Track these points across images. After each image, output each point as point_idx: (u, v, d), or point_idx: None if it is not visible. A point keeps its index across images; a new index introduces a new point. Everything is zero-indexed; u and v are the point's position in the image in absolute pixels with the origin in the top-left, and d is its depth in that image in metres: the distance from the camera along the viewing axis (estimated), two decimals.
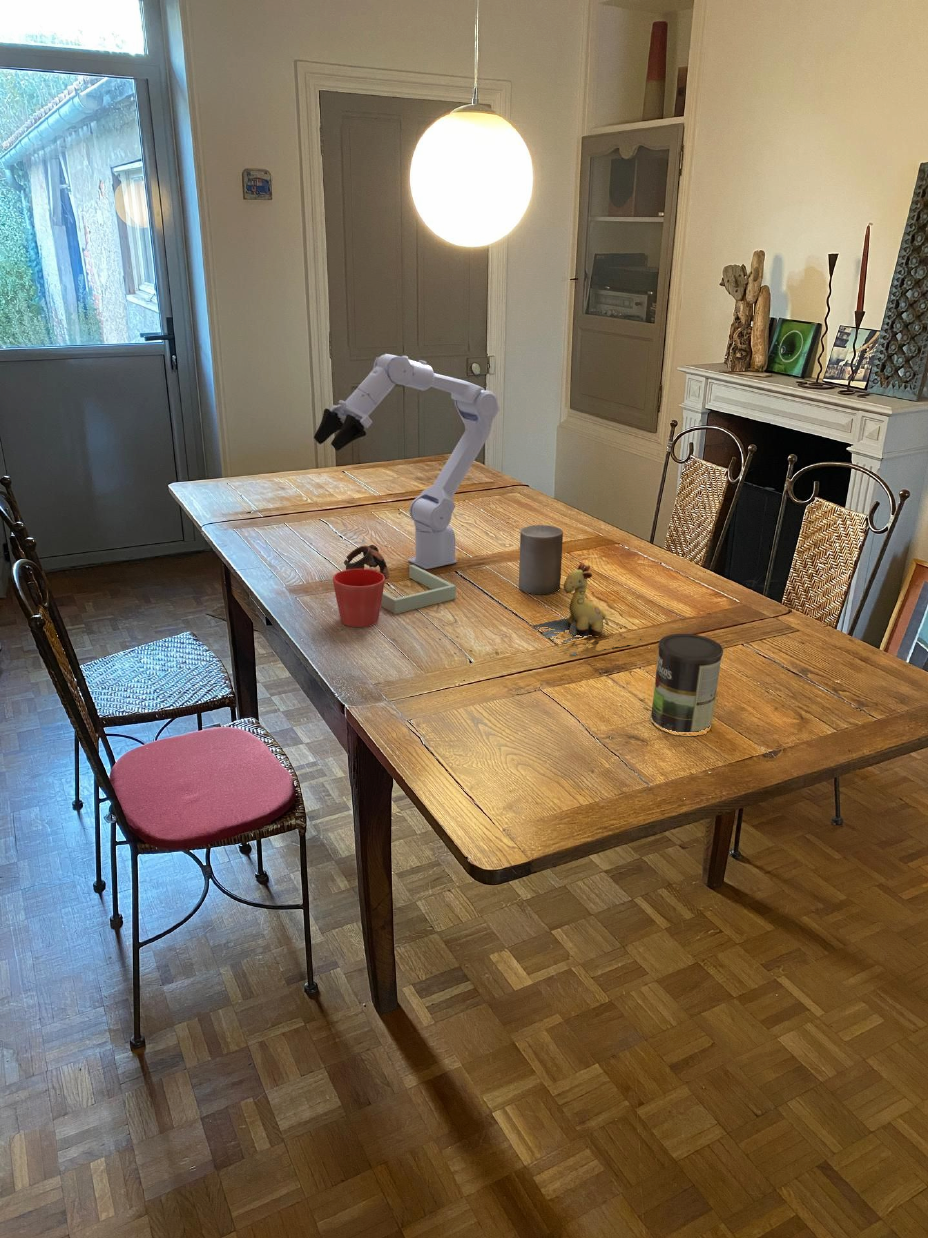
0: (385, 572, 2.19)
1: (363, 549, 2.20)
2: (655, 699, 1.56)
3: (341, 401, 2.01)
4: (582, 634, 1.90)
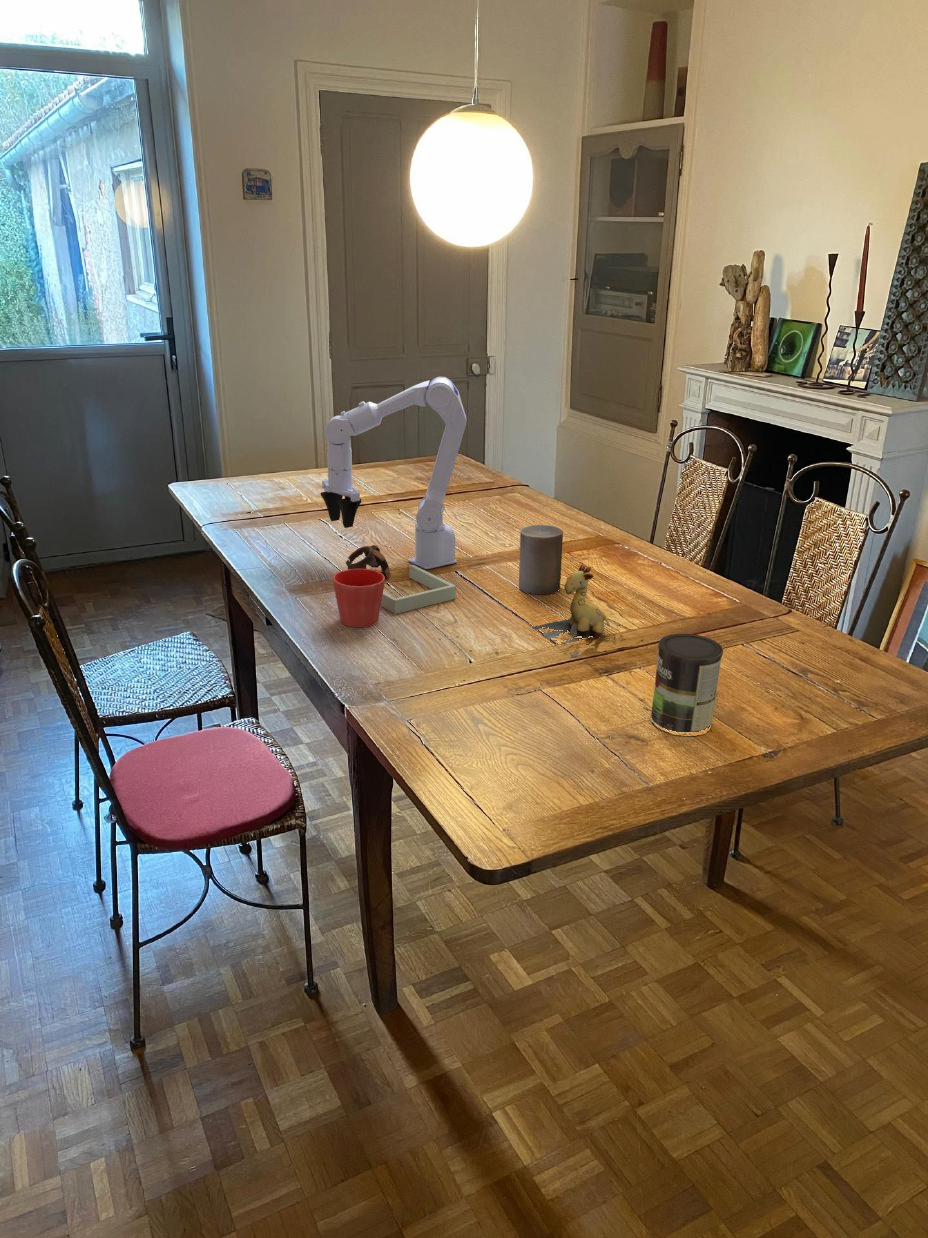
0: (387, 572, 2.19)
1: (365, 549, 2.20)
2: (655, 699, 1.56)
3: (326, 490, 2.21)
4: (583, 635, 1.90)
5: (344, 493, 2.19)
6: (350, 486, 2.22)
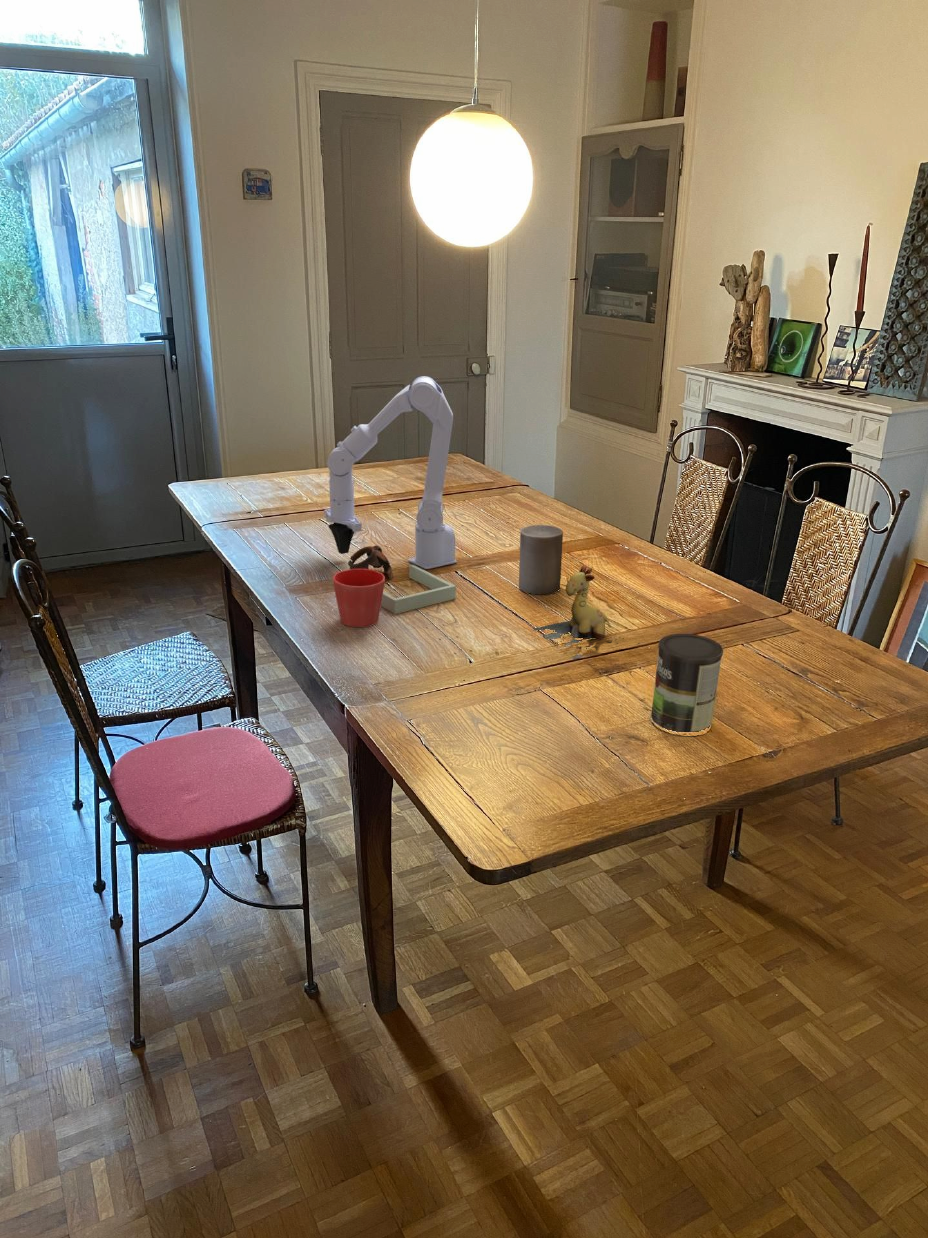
0: (389, 573, 2.18)
1: (367, 550, 2.20)
2: (655, 699, 1.56)
3: (328, 520, 2.24)
4: (584, 637, 1.89)
5: (346, 523, 2.22)
6: (352, 516, 2.25)
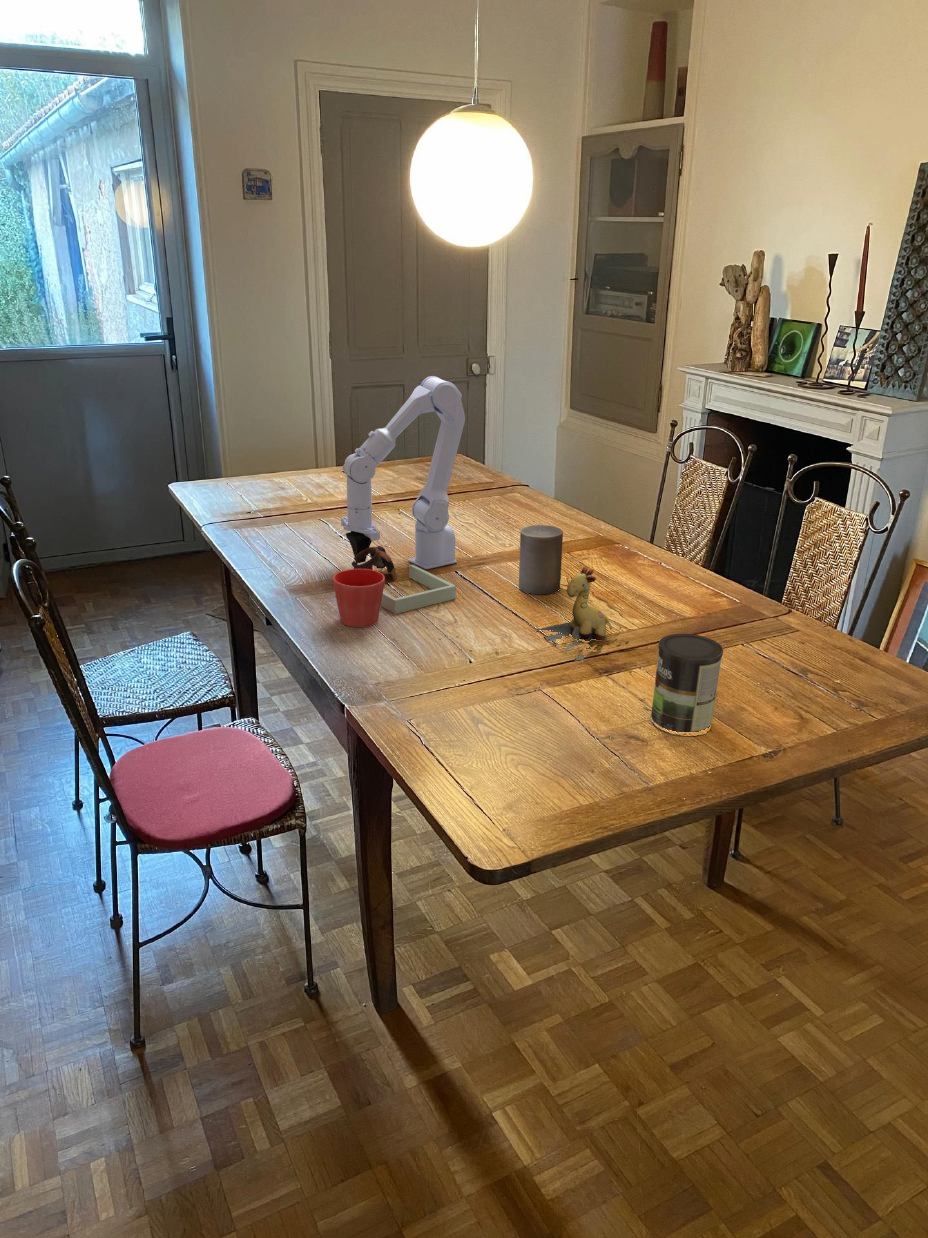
0: (393, 573, 2.18)
1: (371, 550, 2.19)
2: (655, 699, 1.56)
3: (345, 528, 2.18)
4: (585, 638, 1.88)
5: (364, 532, 2.16)
6: (370, 524, 2.19)
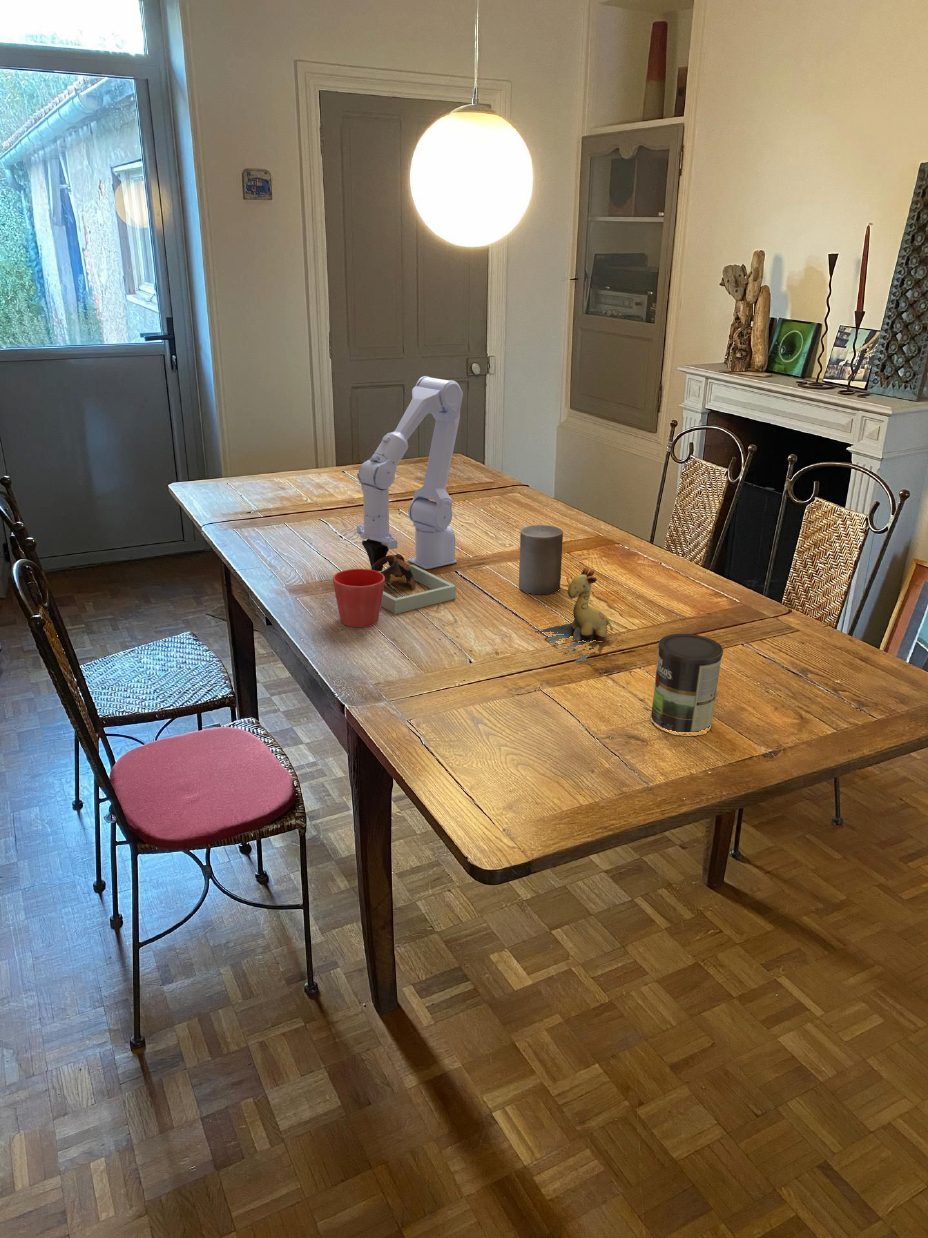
0: (411, 582, 2.12)
1: (389, 559, 2.14)
2: (655, 699, 1.56)
3: (362, 537, 2.12)
4: (586, 639, 1.88)
5: (381, 540, 2.10)
6: (387, 532, 2.13)
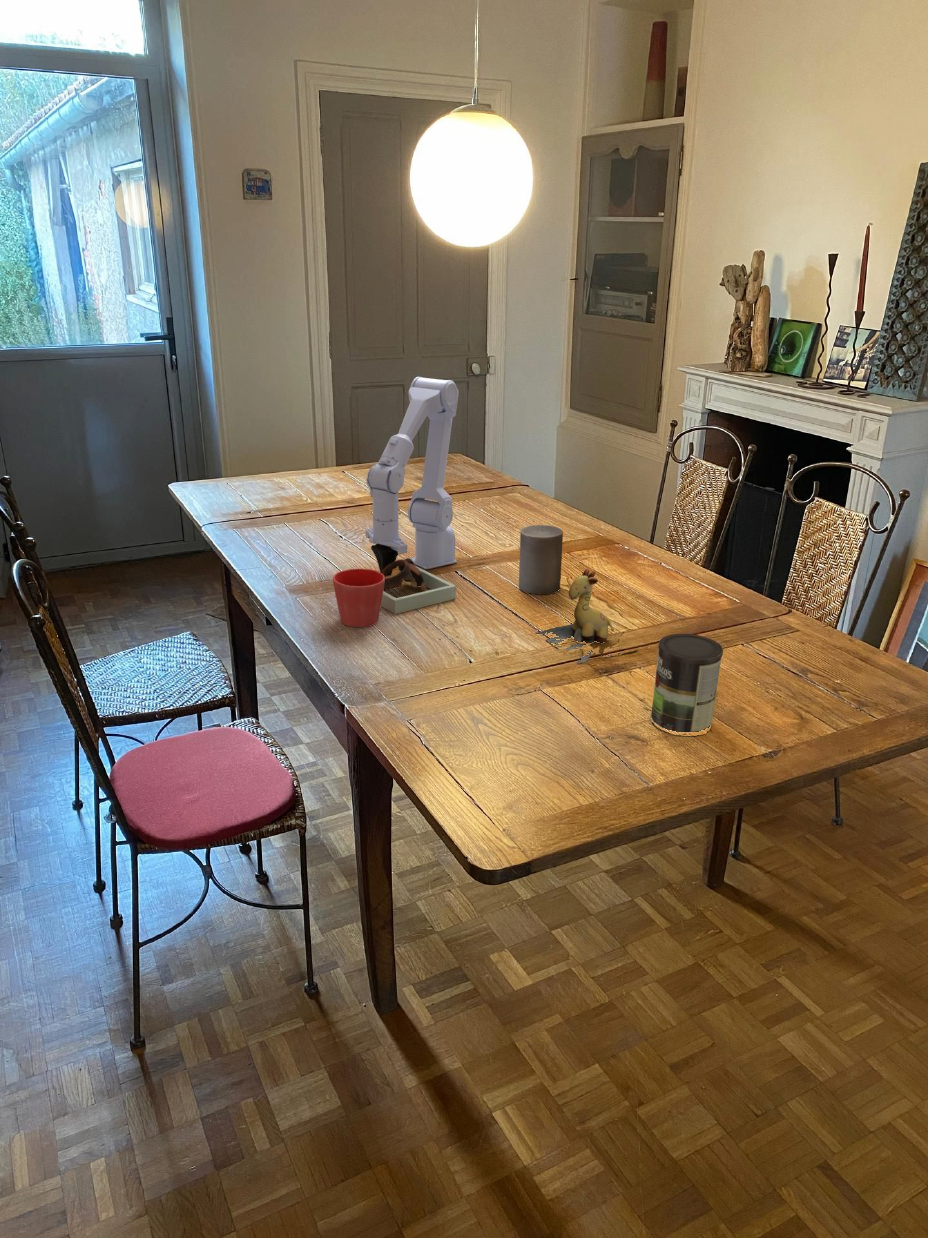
0: (423, 587, 2.10)
1: (399, 563, 2.11)
2: (655, 699, 1.56)
3: (371, 541, 2.09)
4: (587, 641, 1.87)
5: (390, 545, 2.07)
6: (396, 537, 2.10)
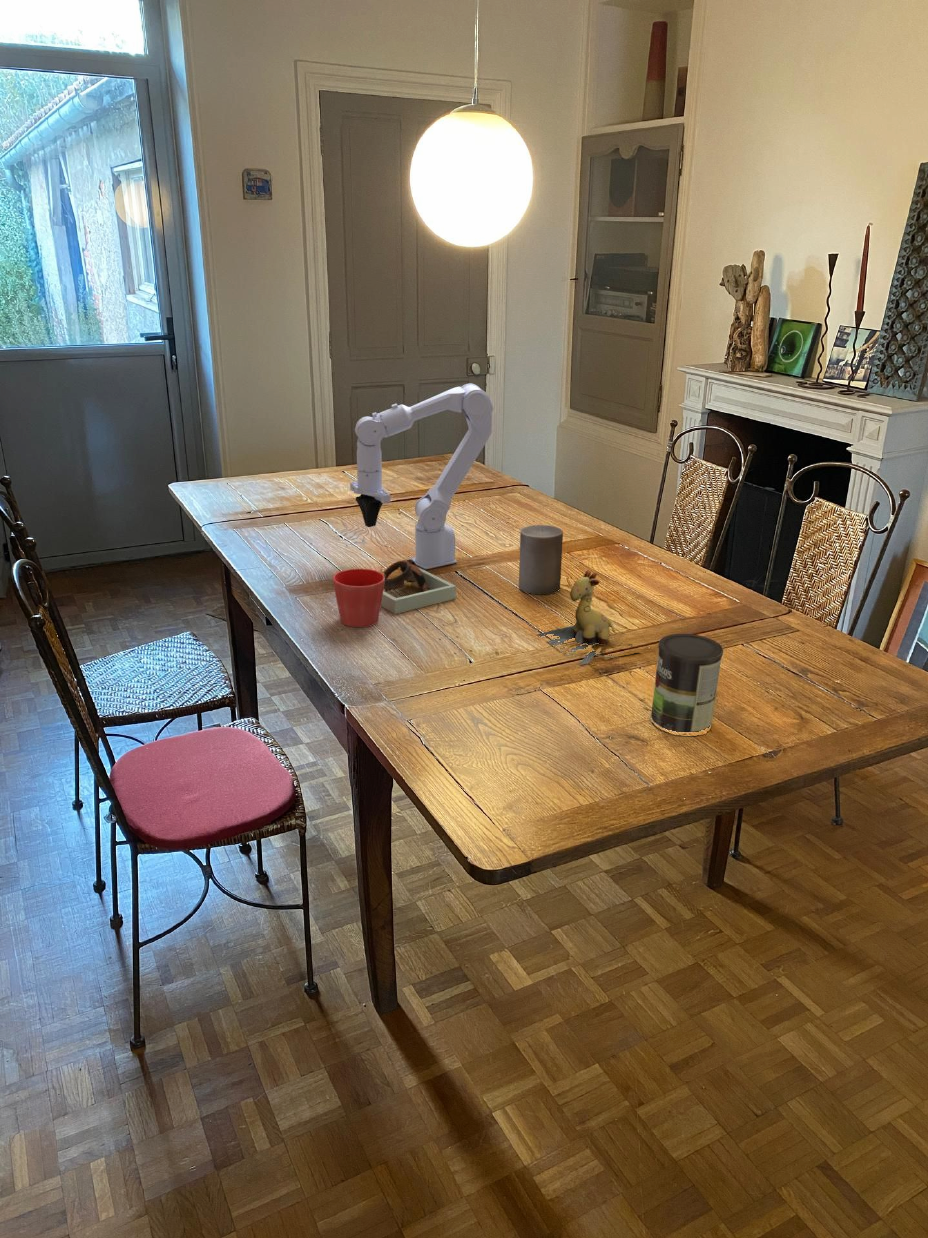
0: (425, 588, 2.10)
1: (401, 564, 2.11)
2: (655, 699, 1.56)
3: (356, 492, 2.18)
4: (589, 642, 1.86)
5: (374, 495, 2.17)
6: (380, 488, 2.19)
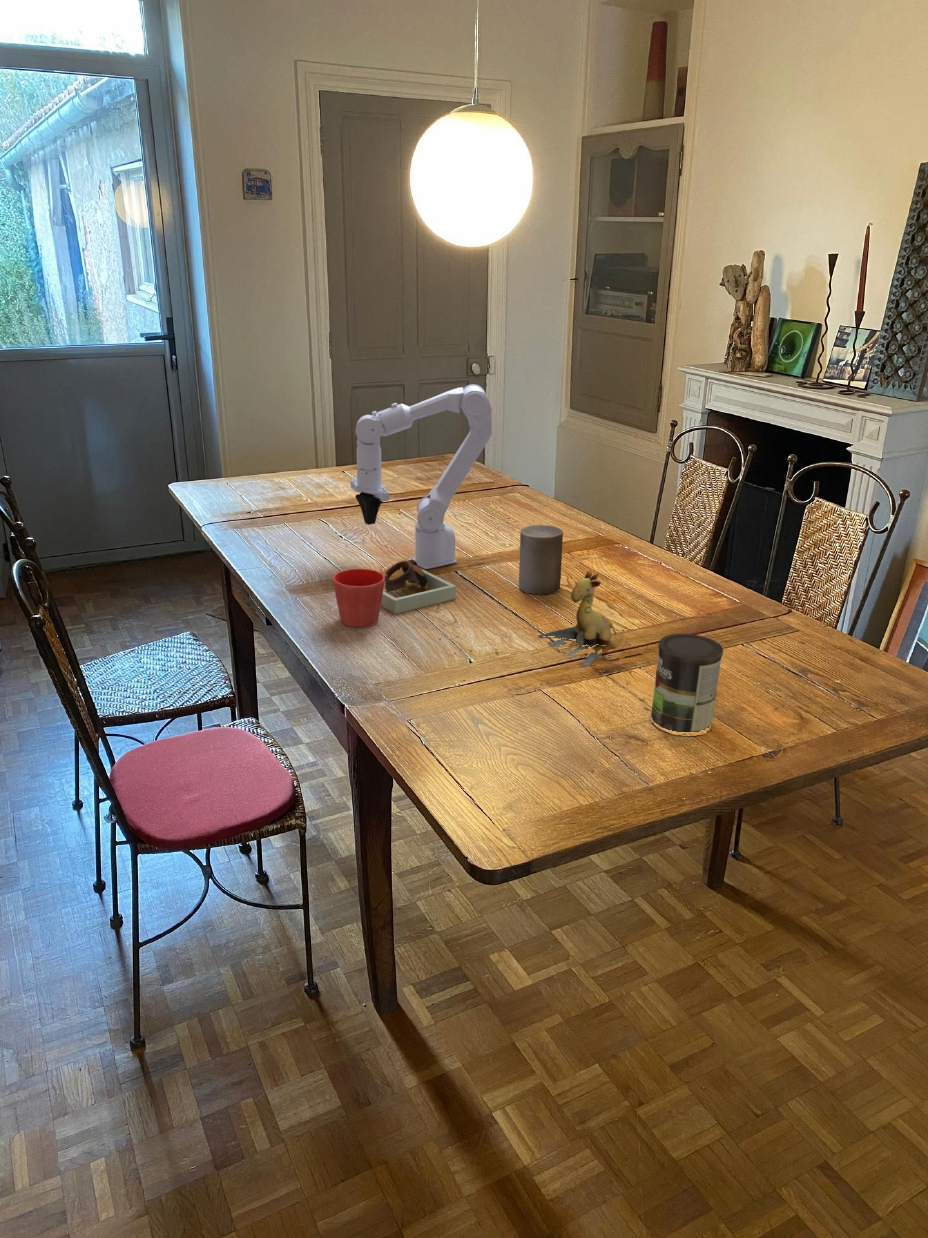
0: (427, 588, 2.10)
1: (403, 564, 2.11)
2: (655, 699, 1.56)
3: (355, 490, 2.20)
4: (590, 644, 1.86)
5: (374, 493, 2.18)
6: (379, 486, 2.21)
